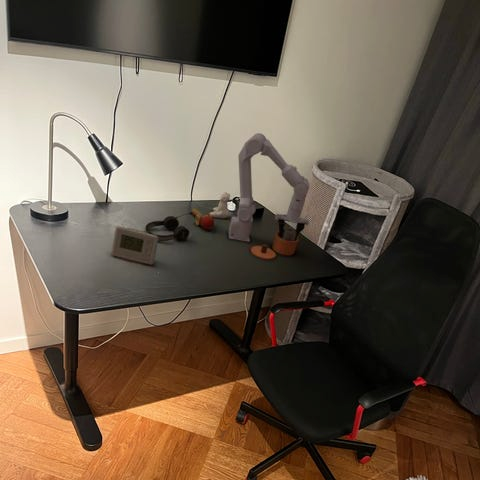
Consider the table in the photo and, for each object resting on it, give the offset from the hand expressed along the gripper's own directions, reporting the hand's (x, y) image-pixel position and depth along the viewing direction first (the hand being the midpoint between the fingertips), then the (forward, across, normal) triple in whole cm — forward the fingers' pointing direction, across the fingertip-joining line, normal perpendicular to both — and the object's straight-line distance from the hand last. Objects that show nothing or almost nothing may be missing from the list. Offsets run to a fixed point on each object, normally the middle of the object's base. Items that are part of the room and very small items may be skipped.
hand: (286, 237), depth 206 cm
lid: (+6, -10, -7) cm, 14 cm away
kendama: (+7, -37, +14) cm, 40 cm away
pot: (+7, 0, 0) cm, 7 cm away
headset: (+7, -51, -4) cm, 52 cm away
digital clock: (+7, -62, -29) cm, 69 cm away
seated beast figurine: (+7, -28, +26) cm, 39 cm away
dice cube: (+2, 0, 0) cm, 2 cm away
